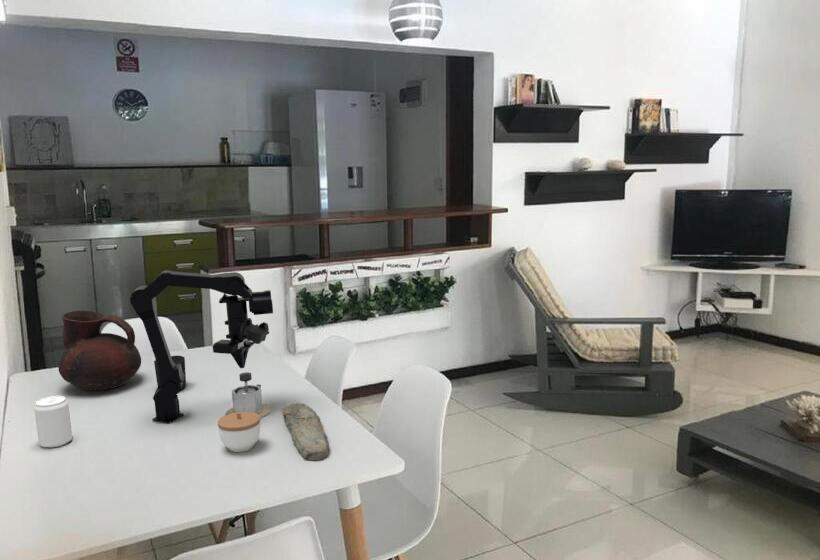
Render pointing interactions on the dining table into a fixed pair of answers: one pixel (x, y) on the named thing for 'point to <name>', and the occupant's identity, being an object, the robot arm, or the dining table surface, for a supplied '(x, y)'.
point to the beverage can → (53, 421)
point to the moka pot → (249, 402)
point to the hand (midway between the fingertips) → (242, 367)
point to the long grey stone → (306, 431)
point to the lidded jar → (239, 430)
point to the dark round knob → (245, 378)
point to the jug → (97, 352)
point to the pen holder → (177, 361)
